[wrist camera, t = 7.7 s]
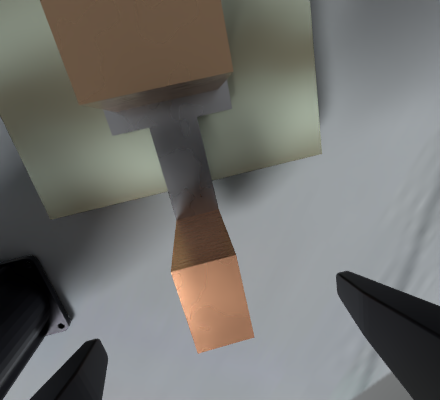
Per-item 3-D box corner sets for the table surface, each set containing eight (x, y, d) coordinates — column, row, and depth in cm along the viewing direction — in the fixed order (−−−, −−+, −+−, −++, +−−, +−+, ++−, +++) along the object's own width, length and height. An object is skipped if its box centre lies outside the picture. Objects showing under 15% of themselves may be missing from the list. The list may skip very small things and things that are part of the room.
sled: (257, 254, 16) (295, 325, 10) (166, 279, 15) (154, 366, 10) (197, -58, 10) (209, -259, 5) (59, -33, 10) (-93, -221, 5)
